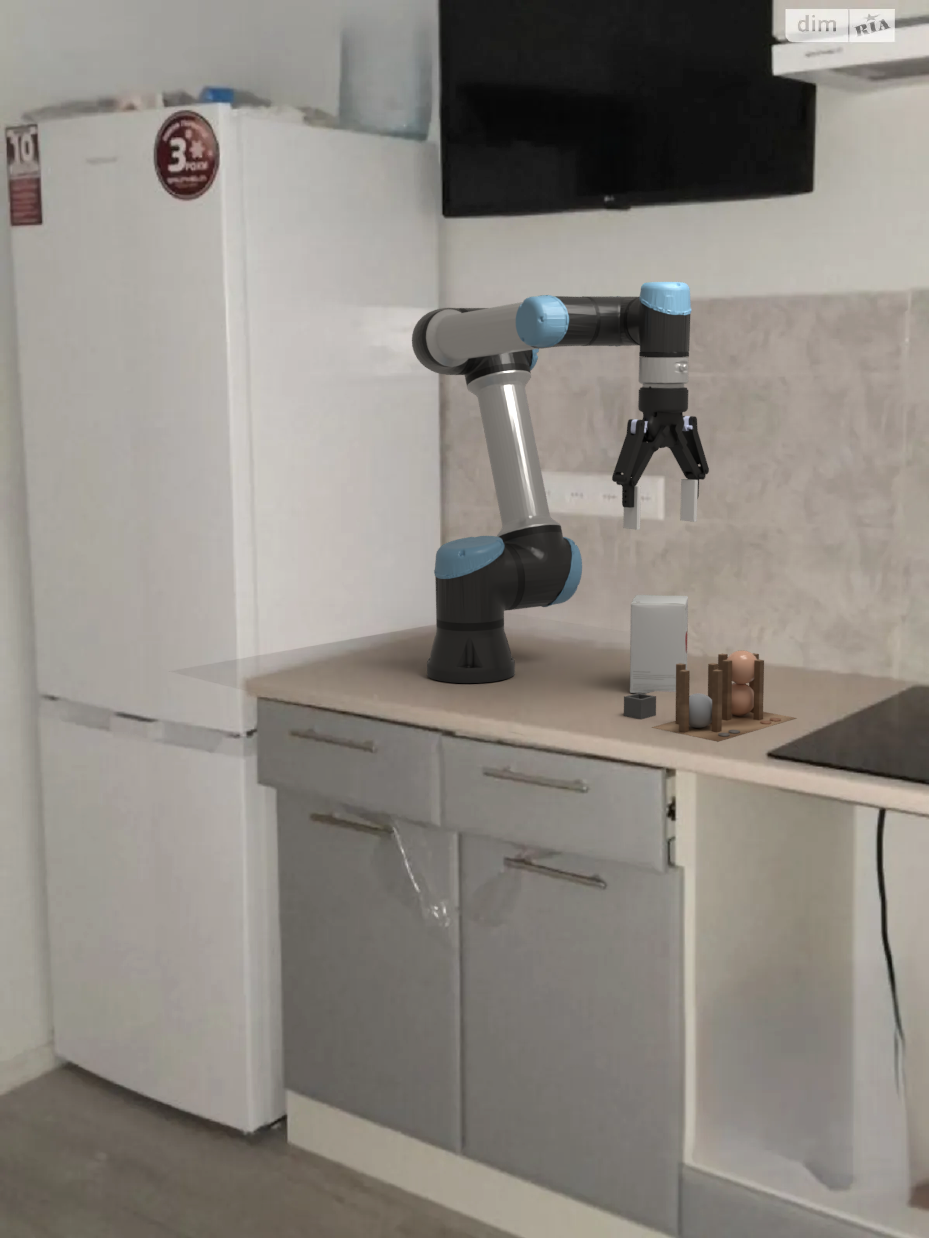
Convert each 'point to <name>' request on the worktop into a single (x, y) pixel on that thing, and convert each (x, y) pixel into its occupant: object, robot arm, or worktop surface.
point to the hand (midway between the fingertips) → (660, 525)
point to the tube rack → (722, 704)
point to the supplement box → (657, 642)
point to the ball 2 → (742, 699)
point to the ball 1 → (700, 710)
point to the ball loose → (742, 666)
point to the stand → (639, 706)
